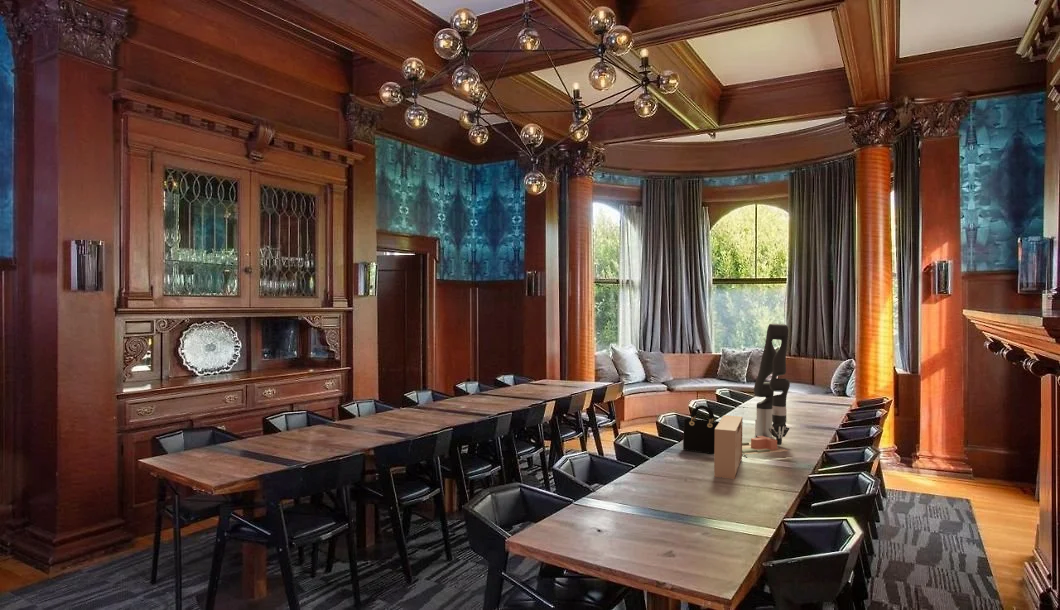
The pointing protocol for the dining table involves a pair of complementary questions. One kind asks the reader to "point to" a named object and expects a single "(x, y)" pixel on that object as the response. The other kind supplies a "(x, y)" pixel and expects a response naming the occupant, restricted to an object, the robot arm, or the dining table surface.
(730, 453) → the box
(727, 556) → the dining table surface
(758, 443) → the t block
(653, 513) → the dining table surface
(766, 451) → the board
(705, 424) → the handbag
